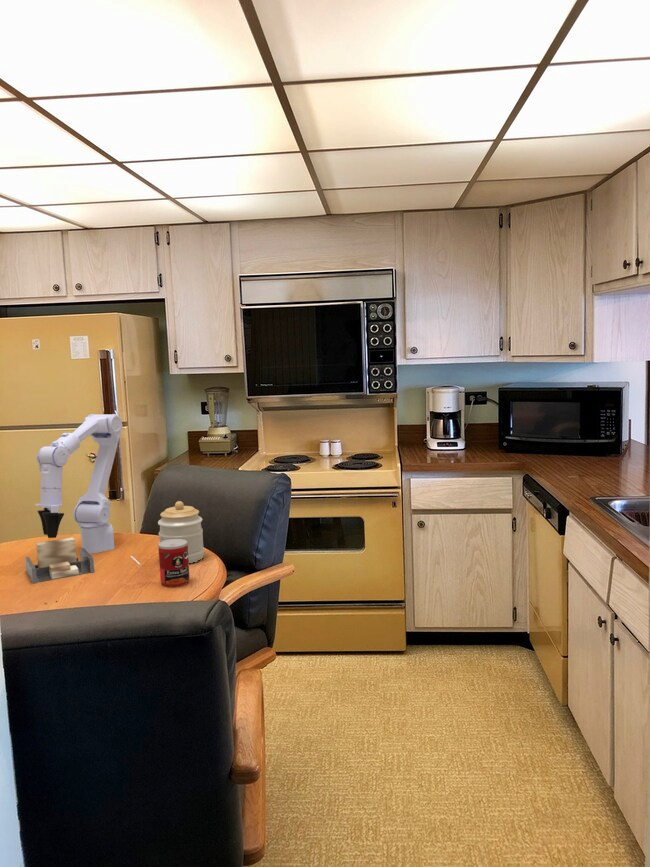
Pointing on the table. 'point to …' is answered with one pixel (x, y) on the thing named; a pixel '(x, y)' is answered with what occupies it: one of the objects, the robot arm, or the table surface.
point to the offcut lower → (65, 572)
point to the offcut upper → (59, 567)
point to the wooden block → (56, 552)
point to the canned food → (173, 562)
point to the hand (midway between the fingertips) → (49, 536)
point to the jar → (183, 528)
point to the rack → (43, 575)
